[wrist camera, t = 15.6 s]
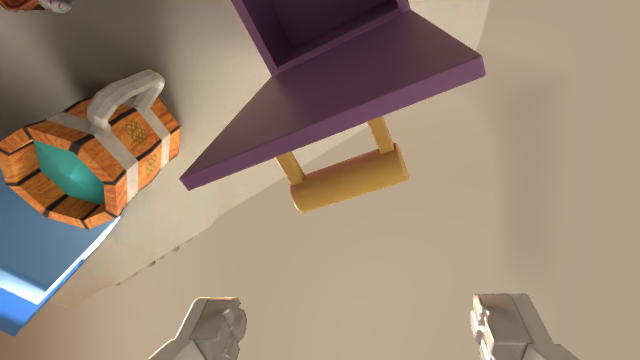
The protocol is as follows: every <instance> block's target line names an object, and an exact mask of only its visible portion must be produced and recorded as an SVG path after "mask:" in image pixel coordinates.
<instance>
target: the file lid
mask: <svg viewBox="0 0 640 360" xmlns="http://www.w3.org/2000/svg"><path fill="white" fill-rule="evenodd" d="M485 74H486V73H485V68H484V63H483V59H482V56H481V55H480V54H479V53H477V52H476V51H474V50H473V49H471V48H469V47H468V46H466V45H465V44H463V43H462V42H460V41H459V40H457V39H456V38H454V37H452V36H451V35H449V34H448V33H446V32H445V31H443V30H442V29H440V28H438V27H437V26H435V25H434V24H432V23H431V22H429V21H428V20H426V19H425V18H423V17H421V16H420V15H418V14H417V13H415V12H414V11H412V10H409V11H407V12H405V13H403V14H401V15H399V16H397V17H395V18H393V19H390V20H388V21H386V22H384V23H382V24H380V25H378V26H376V27H374V28H372V29H370V30H368V31H366V32H364V33H361V34H359V35H357V36H355V37H353V38H351V39H349V40H347V41H345V42H343V43H341V44H339V45H337V46H335V47H332V48H330V49H328V50H326V51H324V52H322V53H320V54H318V55H316V56H314V57H312V58H310V59H308V60H306V61H303V62H301V63H299V64H297V65H295V66H293V67H291V68H289V69H287V70H285V71H283V72H281V73H279V74H277V75H274V76H272V77H271V78H270V79H269V80H268V81H267V82H266V83H265V84H264V86H263V87H262V88H261V89H260V90H259V91H258V92H257V93H256V94H255V95H254V97H253V98H252V99H251V100H250V101H249V102H248V103H247V104H246V105H245V107H244V108H243V109H242V110H241V111H240V112H239V113H238V114H237V115H236V116H235V118H234V119H233V120H232V121H231V122H230V123H229V124H228V125H227V126H226V127H225V129H224V130H223V131H222V132H221V133H220V134H219V135H218V136H217V137H216V139H215V140H214V141H213V142H212V143H211V144H210V145H209V146H208V147H207V148H206V150H205V151H204V152H203V153H202V154H201V155H200V156H199V157H198V158H197V159H196V161H195V162H194V163H193V164H192V165H191V166H190V167H189V168H188V169H187V171H186V172H185V173H184V174H183V175H182V176H181V177H180V178H179V179H180V181H181V182H182V183H183V185H184V186H185V187H186V189H187V190H188V191H190V190H193V189H195V188H198V187H200V186H203V185H205V184H208V183H211V182H213V181H216V180H218V179H221V178H223V177H226V176H229V175H231V174H234V173H236V172H239V171H241V170H244V169H247V168H249V167H252V166H254V165H257V164H260V163H262V162H265V161H267V160H270V159H272V158H276V160H277V161H278V163H279V165H280V166H281V168H282V170H283V171H284V173H285V175H286V176H287V178H288V180H289V181H290V193H291V197H292V200H293V202H294V204H295V206H296V207H297V209H298V210H299V211H300V212H302V213H306V212H309V211H312V210H315V209H318V208H321V207H325V206H328V205H331V204H334V203H338V202H341V201H344V200H347V199H350V198H353V197H357V196H360V195H363V194H366V193H369V192H372V191H376V190H378V189H382V188H385V187H388V186H392V185H395V184H398V183H401V182H404V181H408V179H409V177H408V173H407V169H406V166H405V163H404V160H403V157H402V154H401V152H400V149H399V147H398V145H397V144H396V143H393V142H392V139H391V137H390V134H389V131H388V129H387V126H386V124H385V121H384V118H383V115H386V114H388V113H391V112H393V111H396V110H398V109H401V108H404V107H406V106H409V105H412V104H414V103H417V102H419V101H422V100H424V99H427V98H430V97H432V96H435V95H437V94H440V93H442V92H445V91H447V90H450V89H453V88H455V87H458V86H460V85H463V84H466V83H468V82H471V81H473V80H476V79H479V78H481V77H484V76H485ZM365 122H367V123H368V125H369V127H370V130H371V132H372V135H373V137H374V139H375V142H376V144H377V147H378V149H376V150H373V151H371V152H368V153H365V154H362V155H359V156H357V157H354V158H351V159H348V160H345V161H343V162H340V163H337V164H334V165H332V166H328V167H326V168H323V169H320V170H317V171H314V172H312V173H309V174H306V175H304V173H303V171H302V169H301V168H300V166H299V164H298V162H297V160H296V159H295V157H294V155H293V153H292V152H291V151H293V150H296V149H298V148H301V147H303V146H306V145H308V144H311V143H314V142H316V141H319V140H321V139H324V138H327V137H329V136H332V135H334V134H337V133H339V132H342V131H345V130H347V129H350V128H352V127H355V126H357V125H360V124H363V123H365Z"/></svg>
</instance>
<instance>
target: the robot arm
mask: <svg viewBox="0 0 640 360" xmlns="http://www.w3.org/2000/svg"><path fill="white" fill-rule="evenodd" d="M473 304H474V308H473V309H472V310H471V315H470V319H471V327H472V332H473V335H474V338H475V340H476V341H477V342H478V343H479V344H480V345H481V347H480V352H479V354H480V357H481V360H579V359H578V358H576V357H575V356H574V355H573V354H572V353H570V352H569V351H567V350H566V349H565V348H564V347H563V346H561V345H560V344H554V342H553V341H552V339H551V337H550V335H549V333H548V331H547V329H546V327H545V326H544V324H543V322H542V320H541V318H540V316H539V314H538V312H537V310H536V309H535V307H534V305H533V303H532V301H531V299H530V297H529V296H528V295H527V294H524V293H522V294H507V293H504V294H503V293H502V294H475V295H474V296H473ZM239 306H240V301H239V299H238V298H237V297H236V298H235V297H229V298H227V297H198V298H197V299H196V300H195V301H194V302H193V304H192V306H191V308H190V310H189V312H188V314H187V316H186V318H185V320H184V322H183V324H182V326H181V328H180V330H179V332H178V334H177V336H176V338H175V339H171V340H170V341H169V342H167V343H166V344H165V345H164V346H163V347H162V348H160V349H159V350H158V351H157V352H156V353H155V354H154V355H152V356H151V357H150V358H149V359H148V360H237V357H238V354H239V351H240V349H239V346H238V342H239V341H240V340H241V339H242V338H243V337H244V334H245V331H246V323H247V319H246V314H245V312H244V310H242V309H241V308H239Z"/></svg>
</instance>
